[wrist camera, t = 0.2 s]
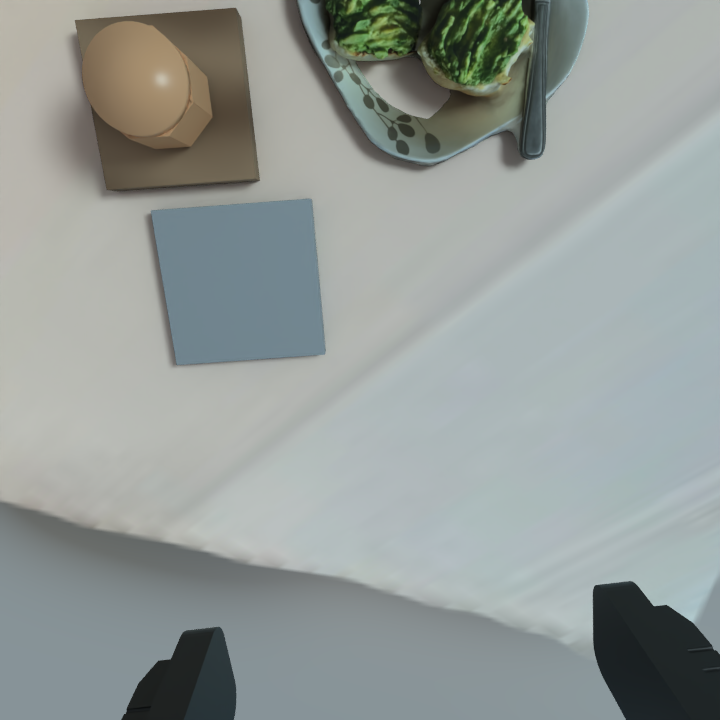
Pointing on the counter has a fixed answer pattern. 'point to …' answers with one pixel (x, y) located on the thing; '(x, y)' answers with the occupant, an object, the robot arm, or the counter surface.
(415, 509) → the counter surface
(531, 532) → the counter surface
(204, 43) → the post stand
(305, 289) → the tile
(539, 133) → the salad plate
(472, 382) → the counter surface
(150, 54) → the cap
